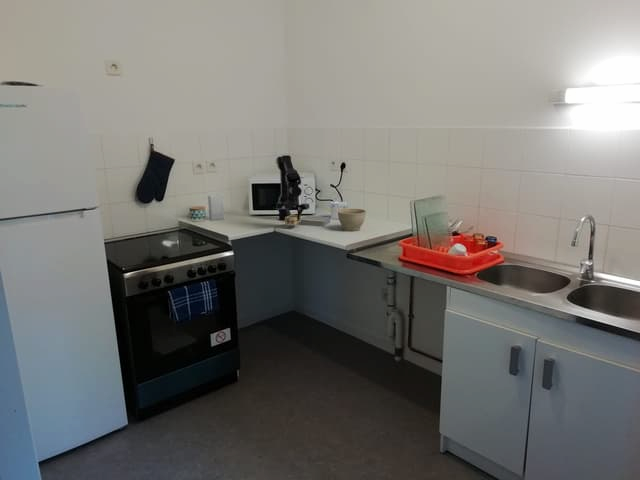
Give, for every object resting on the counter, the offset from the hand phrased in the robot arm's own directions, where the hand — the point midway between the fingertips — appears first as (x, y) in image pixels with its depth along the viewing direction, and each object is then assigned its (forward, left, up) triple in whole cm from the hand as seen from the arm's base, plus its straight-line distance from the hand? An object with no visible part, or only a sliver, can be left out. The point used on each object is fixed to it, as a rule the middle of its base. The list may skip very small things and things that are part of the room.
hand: (293, 220), depth 291 cm
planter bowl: (+34, +6, -5) cm, 35 cm away
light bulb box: (+18, +34, -5) cm, 39 cm away
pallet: (0, 0, -2) cm, 2 cm away
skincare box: (-56, +8, -5) cm, 57 cm away
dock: (+8, +15, -4) cm, 18 cm away
